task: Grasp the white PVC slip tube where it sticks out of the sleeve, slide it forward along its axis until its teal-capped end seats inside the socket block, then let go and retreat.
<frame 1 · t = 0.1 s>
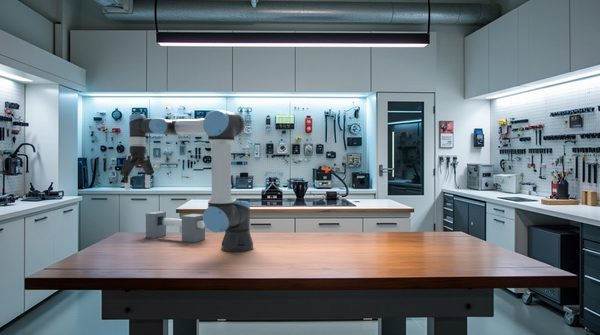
hand: (137, 188, 208), 28 cm above the workbench, fingers open, 13 cm apart
socket block: (156, 236, 230), on the workbench
sleeve: (193, 240, 220), on the workbench
slip tube: (183, 223, 222), point 9 cm above the workbench, slide at 0.0 cm
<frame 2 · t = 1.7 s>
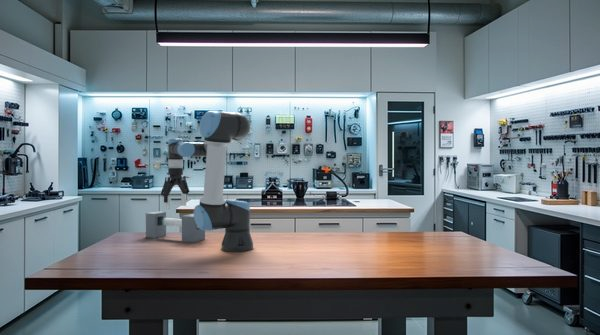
hand: (175, 207, 224), 17 cm above the workbench, fingers open, 13 cm apart
nothing on the workbench moved.
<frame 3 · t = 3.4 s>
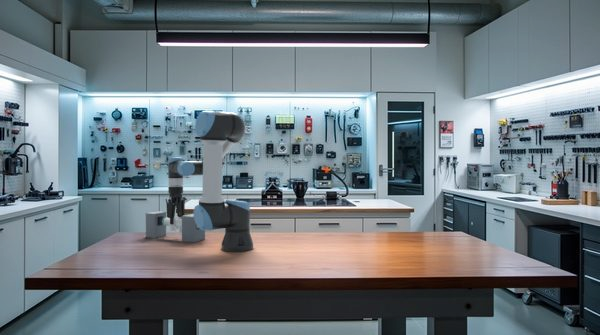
hand: (175, 229, 224), 5 cm above the workbench, fingers closed on slip tube, 4 cm apart
slip tube: (183, 223, 222), point 9 cm above the workbench, slide at 0.0 cm, touching gripper
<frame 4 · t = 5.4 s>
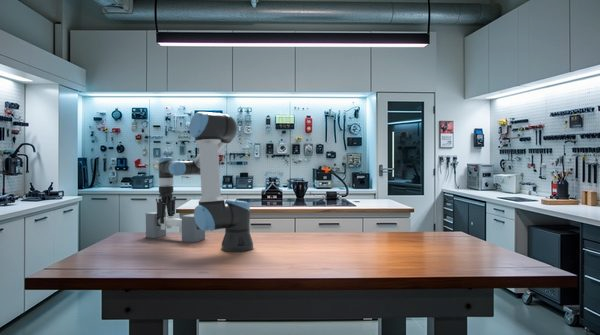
hand: (166, 228, 227), 5 cm above the workbench, fingers closed on slip tube, 4 cm apart
slip tube: (173, 222, 225), point 8 cm above the workbench, slide at 6.5 cm, touching gripper
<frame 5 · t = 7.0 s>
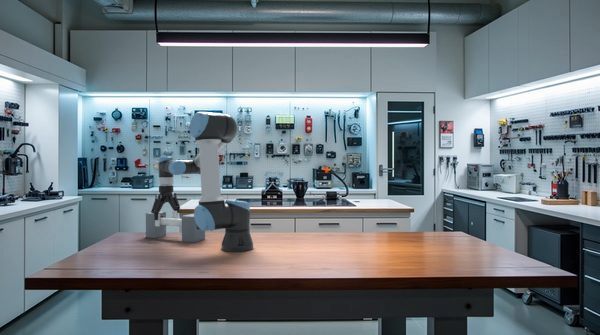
hand: (166, 224, 227), 7 cm above the workbench, fingers open, 13 cm apart
slip tube: (173, 222, 225), point 9 cm above the workbench, slide at 6.5 cm
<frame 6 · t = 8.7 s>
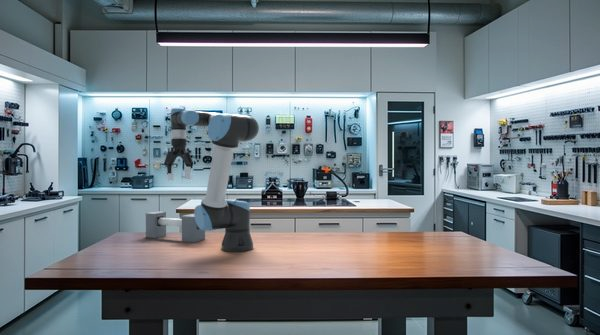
hand: (179, 179, 217), 32 cm above the workbench, fingers open, 13 cm apart
nothing on the workbench moved.
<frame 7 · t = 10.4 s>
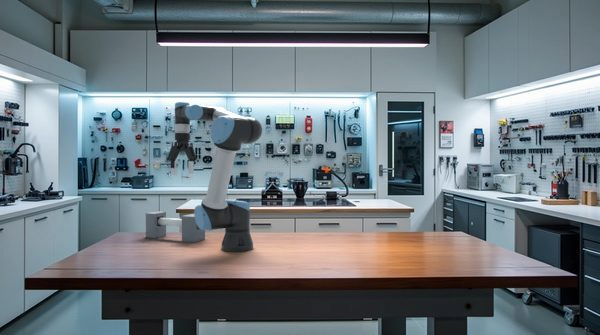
hand: (182, 174, 216), 35 cm above the workbench, fingers open, 13 cm apart
nothing on the workbench moved.
at the end: slip tube slide at 6.5 cm; the gripper is holding nothing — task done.
